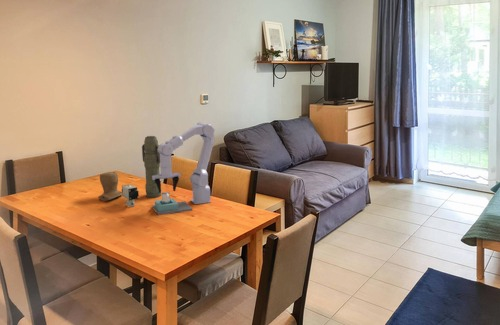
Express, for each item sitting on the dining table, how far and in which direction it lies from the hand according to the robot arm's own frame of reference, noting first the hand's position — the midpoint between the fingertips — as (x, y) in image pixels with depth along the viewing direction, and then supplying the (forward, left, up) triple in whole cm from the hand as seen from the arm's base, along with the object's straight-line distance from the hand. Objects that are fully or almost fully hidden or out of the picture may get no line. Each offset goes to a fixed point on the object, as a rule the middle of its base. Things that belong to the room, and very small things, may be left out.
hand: (167, 191), depth 225 cm
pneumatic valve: (+17, -12, -10) cm, 23 cm away
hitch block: (-2, +2, -9) cm, 10 cm away
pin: (+1, +2, -8) cm, 9 cm away
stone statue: (+2, -26, -10) cm, 28 cm away
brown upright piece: (+26, -32, -10) cm, 43 cm away
